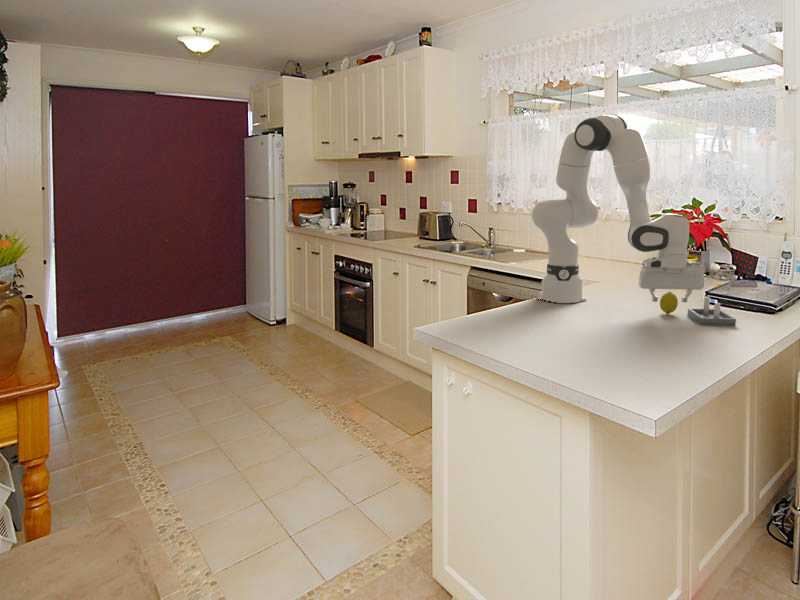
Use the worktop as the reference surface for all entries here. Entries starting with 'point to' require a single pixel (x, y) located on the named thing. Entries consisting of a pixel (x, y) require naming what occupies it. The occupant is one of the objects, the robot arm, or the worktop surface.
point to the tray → (711, 315)
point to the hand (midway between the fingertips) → (669, 301)
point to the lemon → (668, 302)
